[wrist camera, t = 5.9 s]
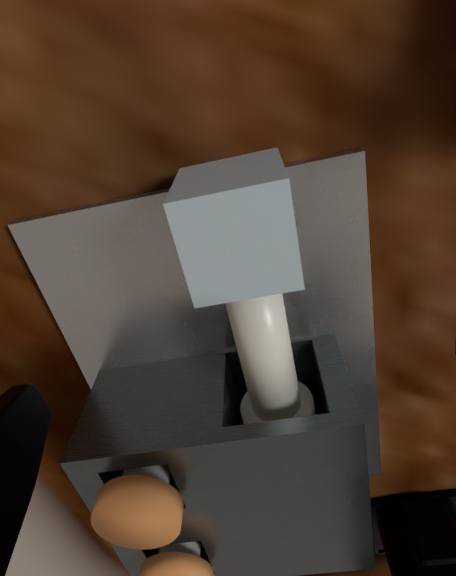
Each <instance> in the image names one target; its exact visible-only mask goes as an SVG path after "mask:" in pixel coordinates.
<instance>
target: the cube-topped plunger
mask: <svg viewBox="0 0 456 576" xmlns="http://www.w3.org/2000/svg"><path fill="white" fill-rule="evenodd" d="M163 206H164V209H165V213H166V216H167V219H168V223H169V226H170V229H171V233H172V236H173V239H174V242H175V246H176V249H177V252H178V256H179V259H180V262H181V266H182V269H183V272H184V275H185V279H186V282H187V285H188V289H189V292H190V295H191V299H192V302H193V305H194V308H200V307H206V306H212V305H218V304H223V303H225V304H226V308H227V312H228V316H229V320H230V324H231V328H232V332H233V335H234V339H235V343H236V347H237V351H238V355H239V359H240V363H241V366H242V370H243V374H244V378H245V382H246V386H247V390H248V391H247V392H246V394H245V395H244V397H243V399H242V401H241V405H240V411H241V415H242V419H243V423H244V424H251V423H258V422H266V421H273V420H281V419H288V418H296V417H303V416H311V415H316V413H315V407H314V400H313V396H312V394H311V392H310V390H309V389H308V388H307V387H306V386H305V385H304V384H302V383H301V382H299V381H297V375H296V370H295V364H294V358H293V352H292V347H291V341H290V335H289V330H288V324H287V318H286V312H285V307H284V301H283V295H282V293H288V292H294V291H300V290H305V286H304V279H303V272H302V265H301V258H300V251H299V244H298V237H297V230H296V223H295V216H294V209H293V202H292V195H291V188H290V181H289V177H288V174H287V171H286V169H285V166H284V164H283V161H282V158H281V156H280V153H279V150H278V148H273V149H268V150H263V151H259V152H254V153H249V154H245V155H240V156H235V157H231V158H226V159H221V160H217V161H212V162H207V163H203V164H198V165H193V166H189V167H184V168H180V169H179V171H178V173H177V175H176V177H175V179H174V182H173V184H172V186H171V188H170V190H169V192H168V194H167V196H166V198H165V201H164V203H163Z"/></svg>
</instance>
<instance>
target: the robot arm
mask: <svg viewBox="0 0 456 576" xmlns="http://www.w3.org/2000/svg"><path fill="white" fill-rule="evenodd" d="M455 354H456V342H455ZM50 419H51V413H50V409H49V407H48V405H47V403H46V402H45V400H44V398H43V397H42V395H41V393H40V392H39V390H38V388H37V387H36V386H35V385H34V384H32V383H27V384H20V385H15V386H13V387H11V388H10V389H8V390H7V391H6V392H4V393H3V394H2V395H0V576H5V574H6V571H7V568H8V565H9V562H10V559H11V556H12V553H13V550H14V547H15V544H16V541H17V538H18V535H19V532H20V529H21V526H22V523H23V520H24V517H25V514H26V512H27V509H28V506H29V502H30V500H31V497H32V493H33V490H34V487H35V484H36V480H37V476H38V472H39V468H40V463H41V459H42V455H43V450H44V446H45V442H46V437H47V433H48V429H49V424H50ZM370 504H371V517H372V531H373V544H374V551H375V553H376V554H378V555H385V554H386V558H387V561H388V565H389V568H390V572H391V575H392V576H456V491H448V492H439V493H430V494H420V495H411V496H402V497H392V498H383V499H375V500H373V501H372V502H371V503H370Z"/></svg>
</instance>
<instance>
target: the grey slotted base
mask: <svg viewBox="0 0 456 576" xmlns="http://www.w3.org/2000/svg"><path fill="white" fill-rule="evenodd" d="M284 166H285V169H286V171H287V174H288V177H289V181H290V188H291V195H292V202H293V209H294V216H295V223H296V230H297V237H298V244H299V251H300V258H301V265H302V272H303V279H304V286H305V290H300V291H294V292H288V293H282V295H283V301H284V307H285V312H286V318H287V324H288V330H289V335H290V341H291V347H292V352H293V358H294V364H295V370H296V375H297V381H299V382H301V383H302V384H304V385H305V386H306V387H307V388H308V389H309V390H310V392H311V394H312V396H313V400H314V407H315V413H316V415H311V416H303V417H296V418H288V419H281V420H273V421H266V422H258V423H251V424H244V423H243V419H242V415H241V411H240V405H241V401H242V399H243V397H244V395H245V394H246V392H247V391H248V390H247V386H246V382H245V378H244V374H243V370H242V366H241V363H240V359H239V355H238V351H237V347H236V343H235V339H234V335H233V332H232V328H231V324H230V320H229V316H228V312H227V308H226V304H225V303H223V304H218V305H212V306H206V307H200V308H194V305H193V302H192V299H191V295H190V292H189V289H188V285H187V282H186V279H185V275H184V272H183V269H182V266H181V262H180V259H179V256H178V252H177V249H176V246H175V242H174V239H173V236H172V233H171V229H170V226H169V223H168V219H167V216H166V213H165V209H164V206H163V203H164V201H165V198H166V196H167V194H168V192H169V190H170V188H166V189H162V190H157V191H152V192H147V193H143V194H138V195H133V196H128V197H123V198H119V199H114V200H109V201H104V202H100V203H95V204H90V205H85V206H80V207H76V208H71V209H66V210H61V211H57V212H52V213H47V214H42V215H37V216H33V217H28V218H23V219H18V220H14V221H12V222H11V223H10V224H8V227H9V229H10V231H11V233H12V235H13V237H14V239H15V241H16V243H17V245H18V247H19V249H20V251H21V253H22V255H23V257H24V259H25V261H26V263H27V265H28V267H29V269H30V271H31V272H32V274H33V276H34V278H35V280H36V282H37V284H38V286H39V288H40V290H41V292H42V294H43V296H44V298H45V300H46V302H47V304H48V306H49V308H50V310H51V312H52V314H53V316H54V318H55V320H56V322H57V324H58V326H59V328H60V330H61V332H62V334H63V335H64V337H65V339H66V341H67V343H68V345H69V347H70V349H71V351H72V353H73V355H74V357H75V359H76V361H77V363H78V365H79V367H80V369H81V371H82V373H83V375H84V377H85V379H86V381H87V383H88V385H89V387H90V389H91V391H90V393H89V396H88V398H87V400H86V403H85V405H84V407H83V410H82V412H81V414H80V417H79V419H78V421H77V424H76V426H75V429H74V431H73V433H72V436H71V438H70V440H69V443H68V445H67V447H66V450H65V452H64V454H63V457H62V459H61V461H60V465H61V467H62V468H63V470H64V471H65V473H66V474H67V476H68V478H69V479H70V481H71V482H72V484H73V485H74V487H75V489H76V490H77V492H78V493H79V495H80V497H81V498H82V500H83V501H84V503H85V504H86V506H87V508H88V509H89V511H90V512H91V514H92V512H93V508H94V505H95V502H96V499H97V496H98V493H99V490H100V489H101V487H102V486H103V485H104V484H105V483H107V482H108V481H110V480H112V479H114V478H117V477H121V476H122V474H123V471H124V469H132V468H140V467H148V466H156V465H165V464H167V465H168V467H169V469H170V472H171V474H170V481H169V484H170V485H171V486H173V487H174V488H175V489H176V490H177V491H178V492H179V493H180V495H181V496H182V499H183V502H184V507H183V515H182V524H181V531H180V534H179V535H178V537H177V538H176V539H175V540H174V541H173V542H171V543H169V544H176V543H186V542H196V541H201V550H200V557H201V558H203V559H204V560H206V561H207V562H208V563H210V565H211V566H212V567H213V569H214V576H298V575H309V574H321V573H332V572H344V571H355V570H367V569H375V558H374V544H373V531H372V517H371V504H370V490H369V476H373V475H381V462H380V442H379V422H378V402H377V382H376V362H375V342H374V322H373V302H372V282H371V262H370V242H369V222H368V202H367V182H366V162H365V151H364V150H363V149H362V148H358V149H353V150H348V151H343V152H338V153H334V154H329V155H324V156H319V157H315V158H310V159H305V160H300V161H295V162H291V163H286V164H284ZM110 544H111V545H112V547H113V549H114V550H115V552H116V553H117V555H118V557H119V558H120V560H121V561H122V563H123V564H124V566H125V568H126V569H127V571H128V572H129V574H130V575H131V576H139V572H140V567H141V564H142V563H143V562H144V560H146V559H147V558H149V557H150V556H153V555H155V554H159V548H155V549H145V550H141V549H130V548H125V547H121V546H118V545H115V544H112V543H110Z"/></svg>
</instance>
